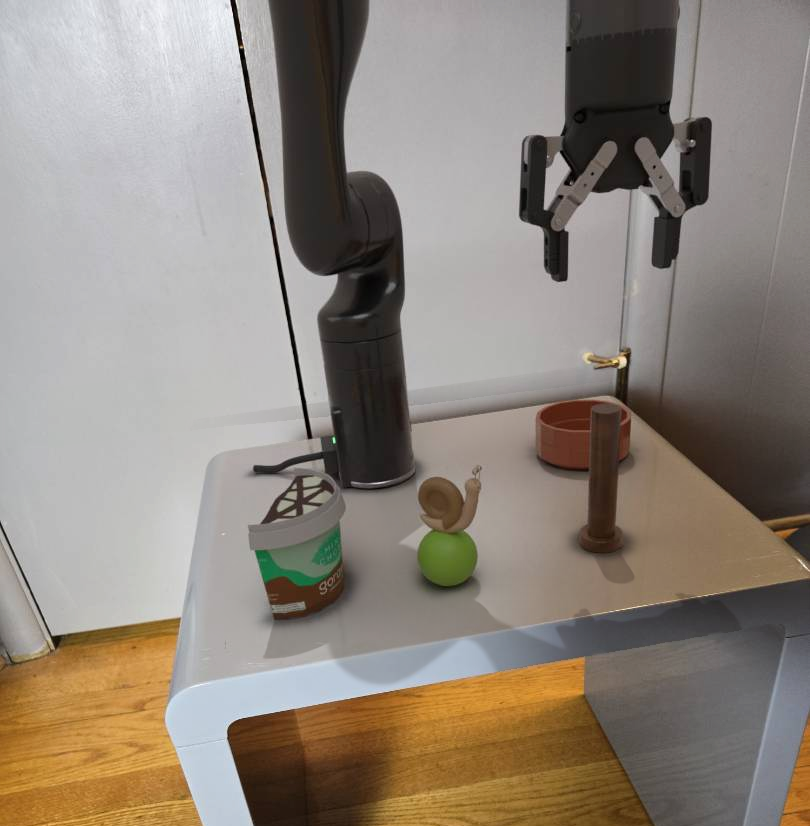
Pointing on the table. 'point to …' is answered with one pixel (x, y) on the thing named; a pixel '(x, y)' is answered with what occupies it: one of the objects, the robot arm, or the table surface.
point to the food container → (301, 546)
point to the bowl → (573, 433)
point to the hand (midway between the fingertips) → (610, 273)
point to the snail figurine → (448, 530)
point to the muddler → (603, 481)
